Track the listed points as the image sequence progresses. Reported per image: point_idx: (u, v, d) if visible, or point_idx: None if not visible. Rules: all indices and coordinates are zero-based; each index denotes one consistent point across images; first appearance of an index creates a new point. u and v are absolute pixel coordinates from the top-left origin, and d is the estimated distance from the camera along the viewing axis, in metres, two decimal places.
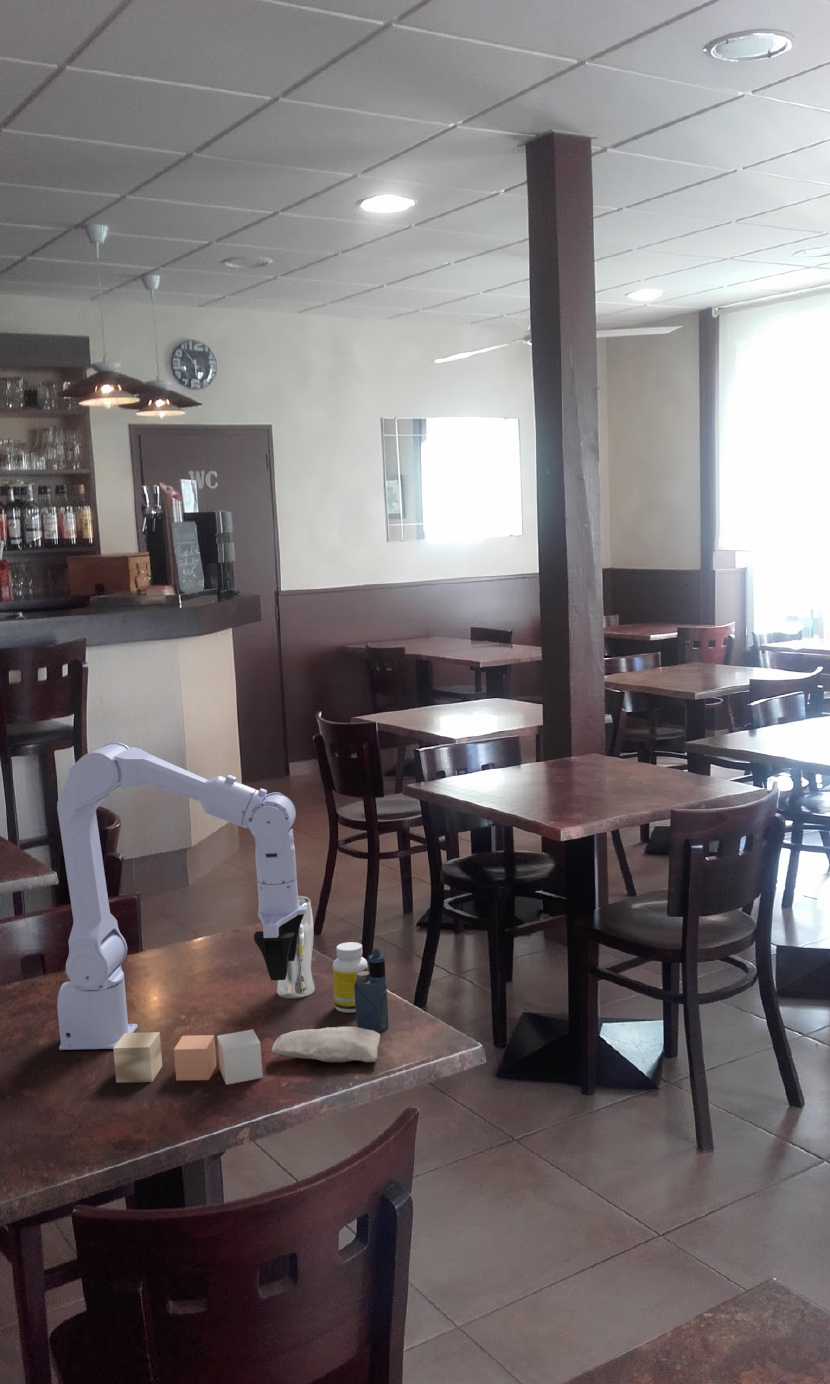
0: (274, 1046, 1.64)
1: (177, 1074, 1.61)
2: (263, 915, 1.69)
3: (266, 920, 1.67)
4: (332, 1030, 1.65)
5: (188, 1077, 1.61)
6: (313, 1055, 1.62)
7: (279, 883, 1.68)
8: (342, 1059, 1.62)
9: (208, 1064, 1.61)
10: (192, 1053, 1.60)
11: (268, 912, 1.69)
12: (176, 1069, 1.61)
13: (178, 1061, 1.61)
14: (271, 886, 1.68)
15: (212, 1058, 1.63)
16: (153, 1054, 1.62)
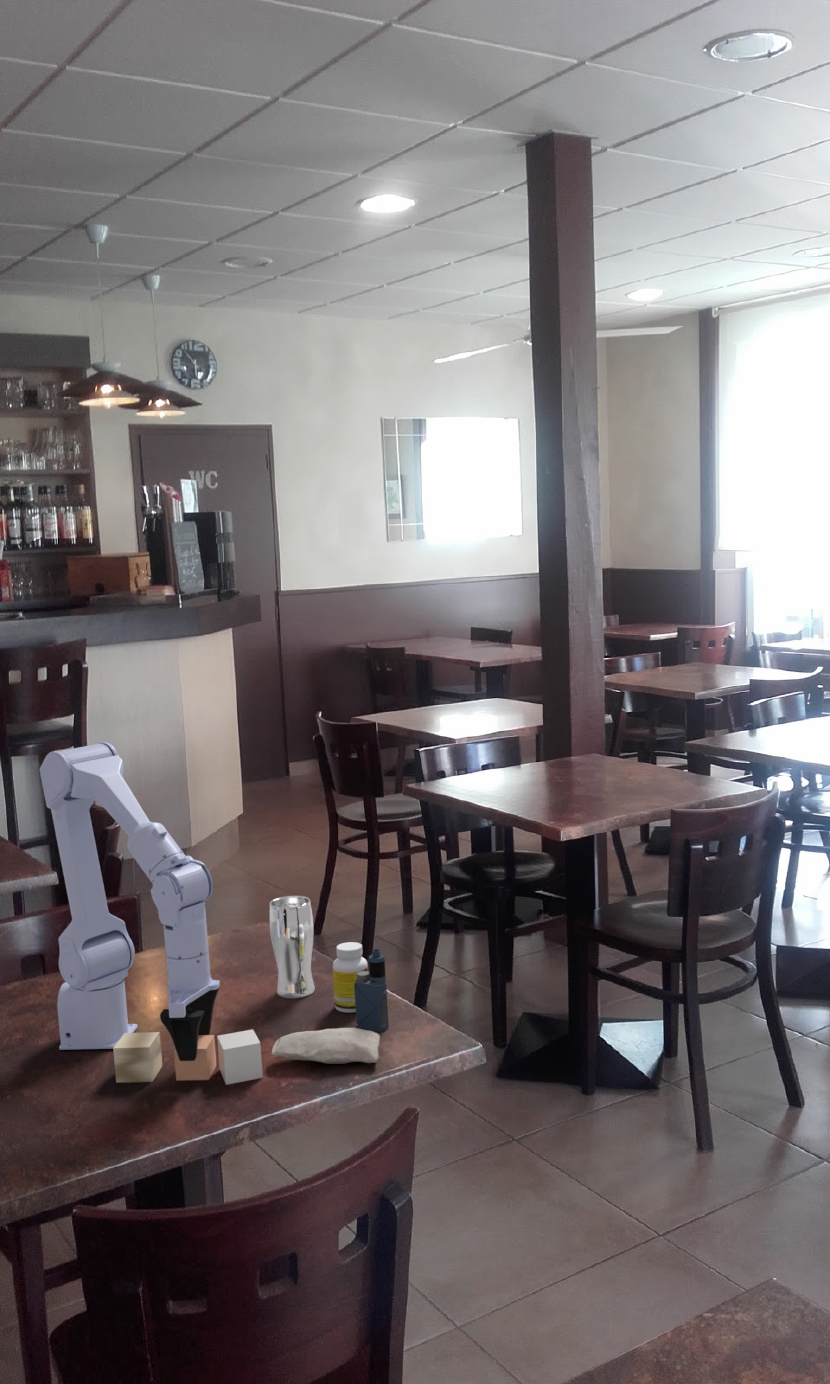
0: (274, 1048, 1.64)
1: (177, 1074, 1.61)
2: (171, 991, 1.59)
3: (173, 998, 1.57)
4: (332, 1031, 1.65)
5: (188, 1077, 1.61)
6: (314, 1057, 1.61)
7: (188, 958, 1.58)
8: (343, 1060, 1.62)
9: (208, 1064, 1.61)
10: None
11: (177, 988, 1.59)
12: (176, 1069, 1.61)
13: (178, 1061, 1.61)
14: (179, 961, 1.58)
15: (212, 1058, 1.63)
16: (153, 1054, 1.62)
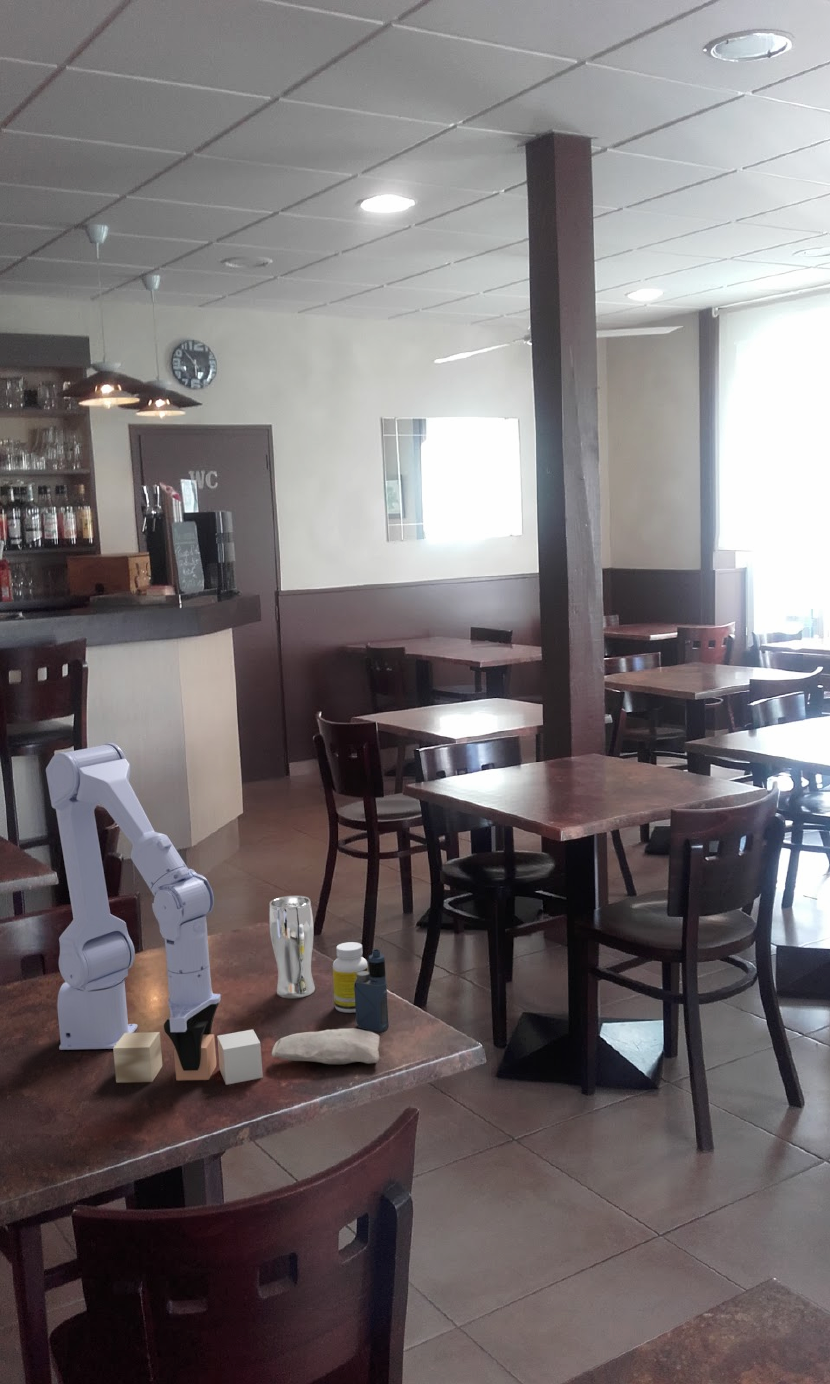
0: (274, 1050, 1.63)
1: (177, 1073, 1.61)
2: (172, 1005, 1.59)
3: (174, 1012, 1.57)
4: (332, 1032, 1.64)
5: (188, 1076, 1.61)
6: (314, 1057, 1.61)
7: (189, 972, 1.58)
8: (344, 1061, 1.61)
9: (208, 1063, 1.61)
10: None
11: (178, 1002, 1.59)
12: (176, 1068, 1.61)
13: (178, 1060, 1.61)
14: (180, 975, 1.58)
15: (212, 1057, 1.63)
16: (153, 1054, 1.62)
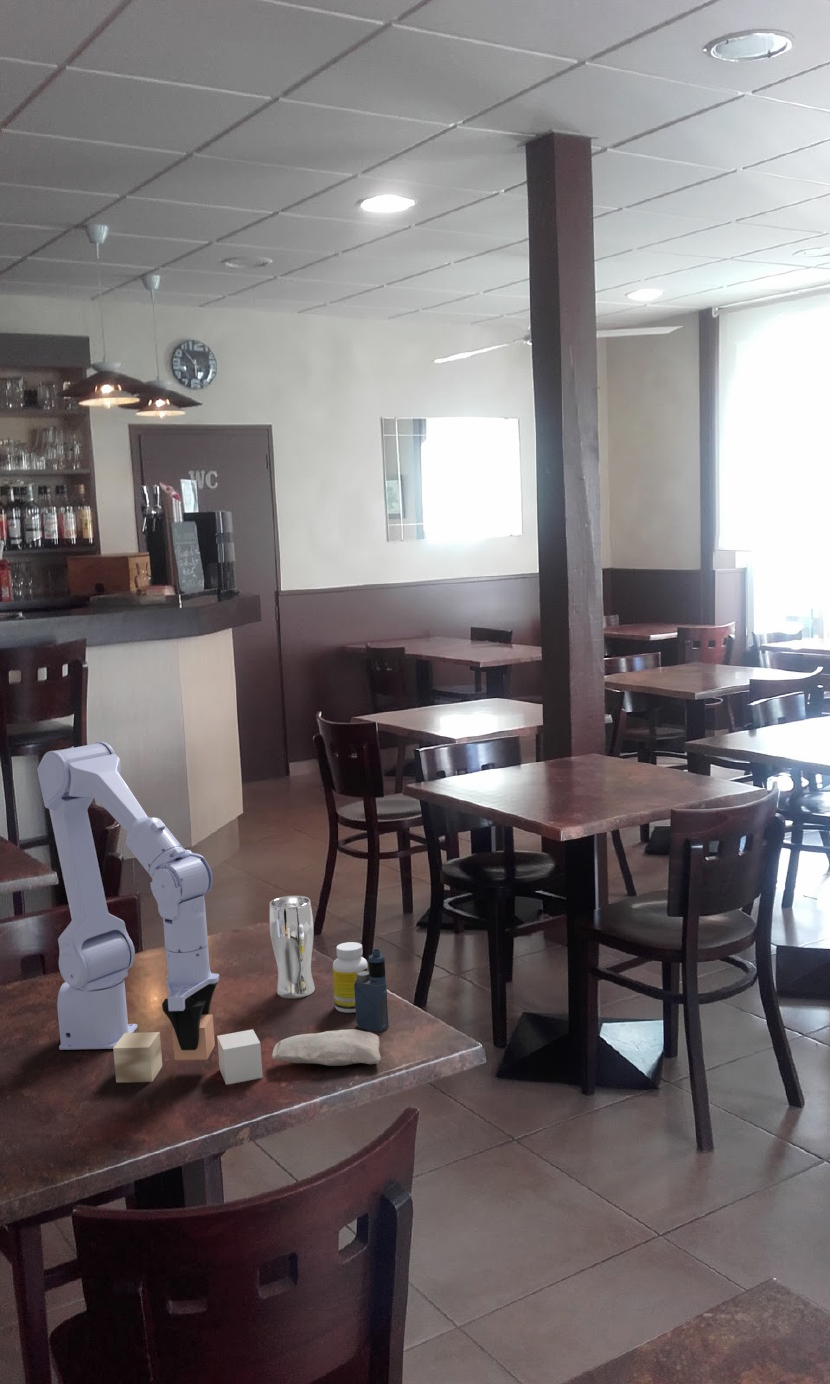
0: (274, 1052, 1.62)
1: (175, 1053, 1.60)
2: (171, 985, 1.59)
3: (173, 991, 1.57)
4: (333, 1033, 1.64)
5: (186, 1056, 1.60)
6: (316, 1059, 1.60)
7: (187, 951, 1.58)
8: (345, 1062, 1.61)
9: (206, 1043, 1.60)
10: None
11: (176, 982, 1.59)
12: (174, 1048, 1.60)
13: (176, 1040, 1.60)
14: (179, 954, 1.58)
15: (210, 1037, 1.63)
16: (153, 1054, 1.62)
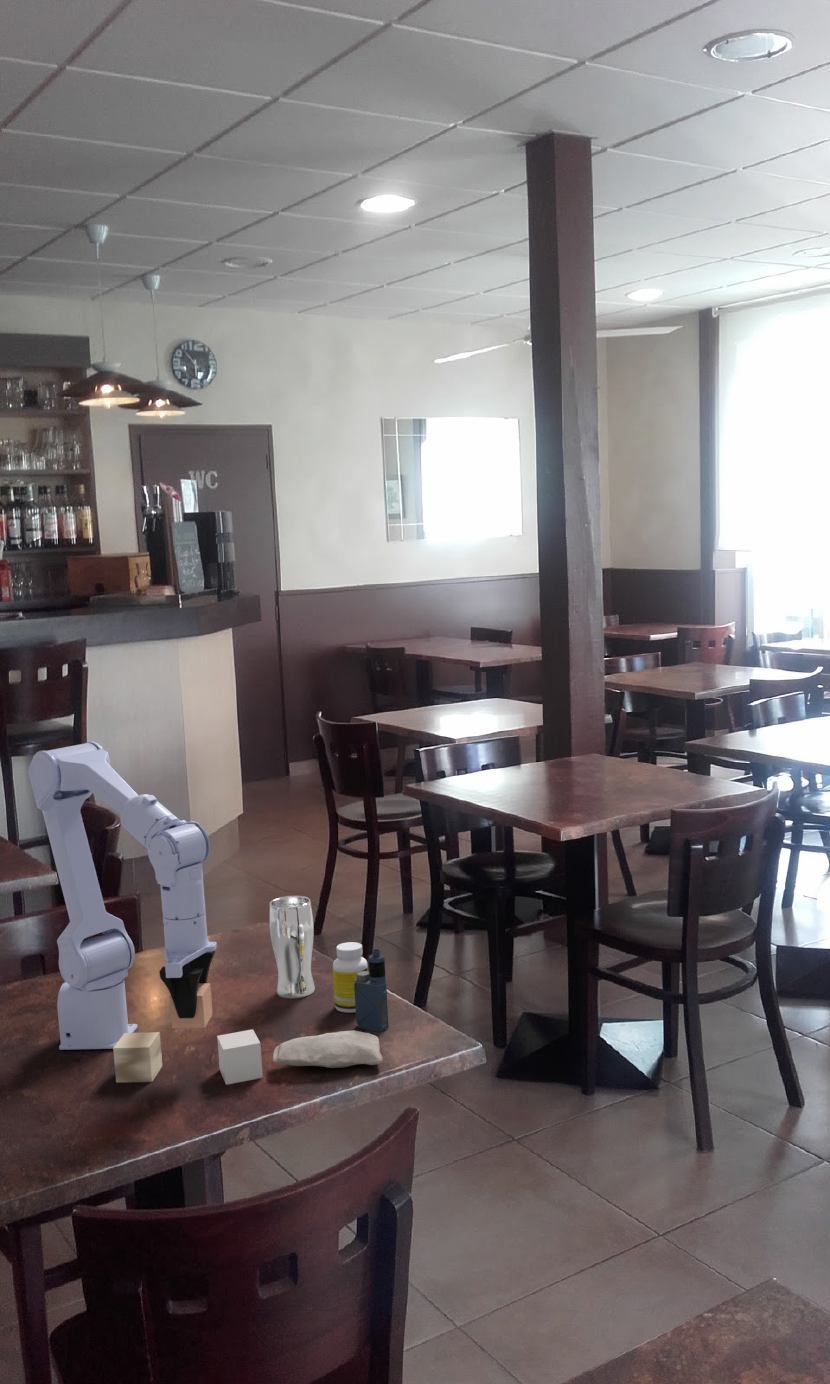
0: (275, 1055, 1.62)
1: (173, 1021, 1.60)
2: (168, 952, 1.58)
3: (170, 958, 1.56)
4: (333, 1035, 1.63)
5: (183, 1024, 1.60)
6: (318, 1062, 1.60)
7: (185, 918, 1.57)
8: (347, 1064, 1.60)
9: (204, 1011, 1.60)
10: None
11: (173, 949, 1.58)
12: (172, 1016, 1.60)
13: (174, 1008, 1.60)
14: (176, 922, 1.57)
15: (208, 1006, 1.62)
16: (153, 1054, 1.62)
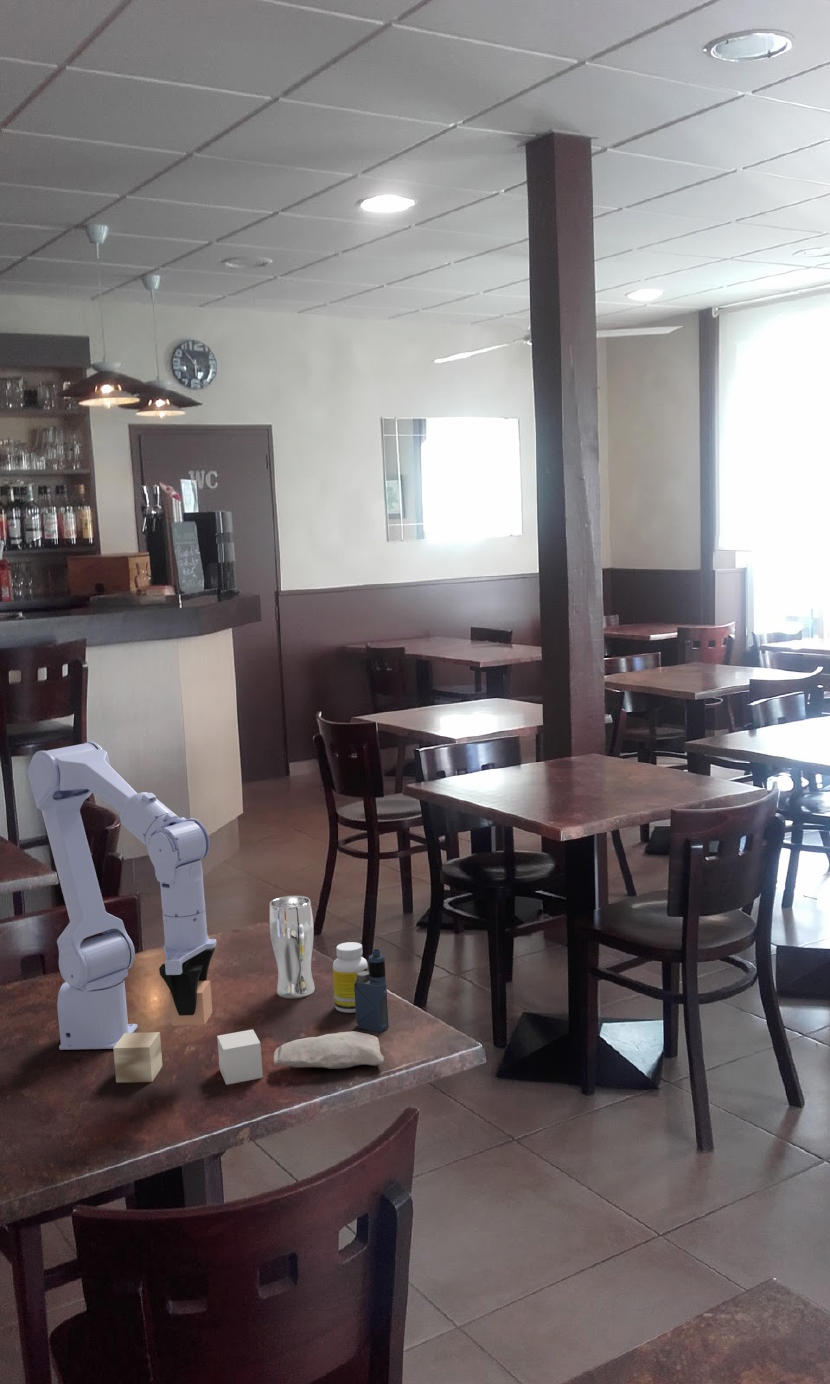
0: (276, 1057, 1.61)
1: (173, 1018, 1.60)
2: (168, 949, 1.58)
3: (170, 955, 1.56)
4: (334, 1036, 1.63)
5: (183, 1021, 1.60)
6: (320, 1063, 1.59)
7: (184, 916, 1.57)
8: (349, 1064, 1.60)
9: (204, 1008, 1.60)
10: None
11: (173, 946, 1.58)
12: (172, 1013, 1.60)
13: (174, 1005, 1.60)
14: (176, 919, 1.57)
15: (208, 1003, 1.62)
16: (153, 1054, 1.62)
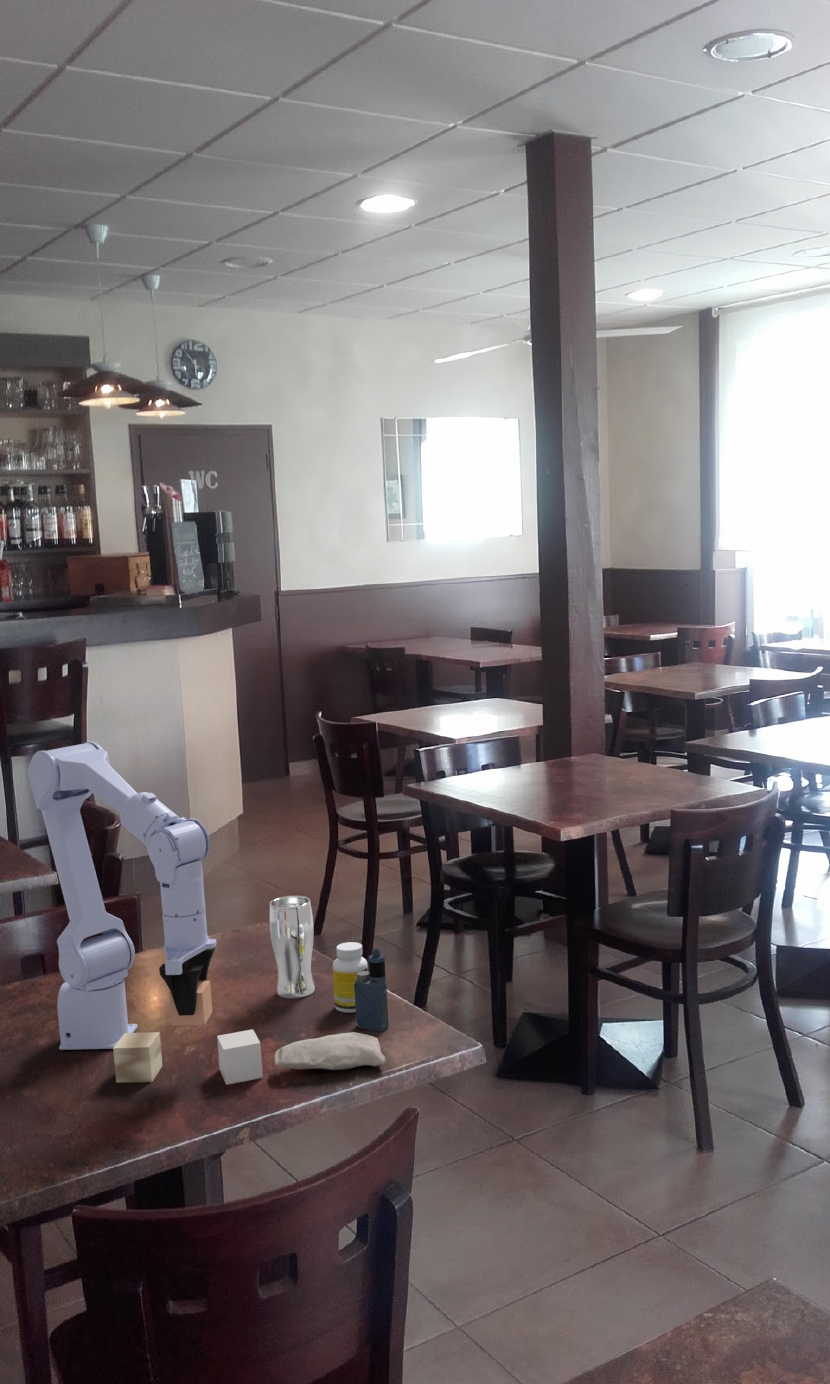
0: (277, 1059, 1.60)
1: (173, 1018, 1.60)
2: (168, 949, 1.58)
3: (170, 955, 1.56)
4: (335, 1037, 1.63)
5: (183, 1021, 1.60)
6: (321, 1064, 1.59)
7: (184, 916, 1.57)
8: (351, 1065, 1.60)
9: (204, 1008, 1.60)
10: None
11: (173, 946, 1.58)
12: (172, 1013, 1.60)
13: (174, 1005, 1.60)
14: (176, 919, 1.57)
15: (208, 1003, 1.62)
16: (153, 1054, 1.62)
